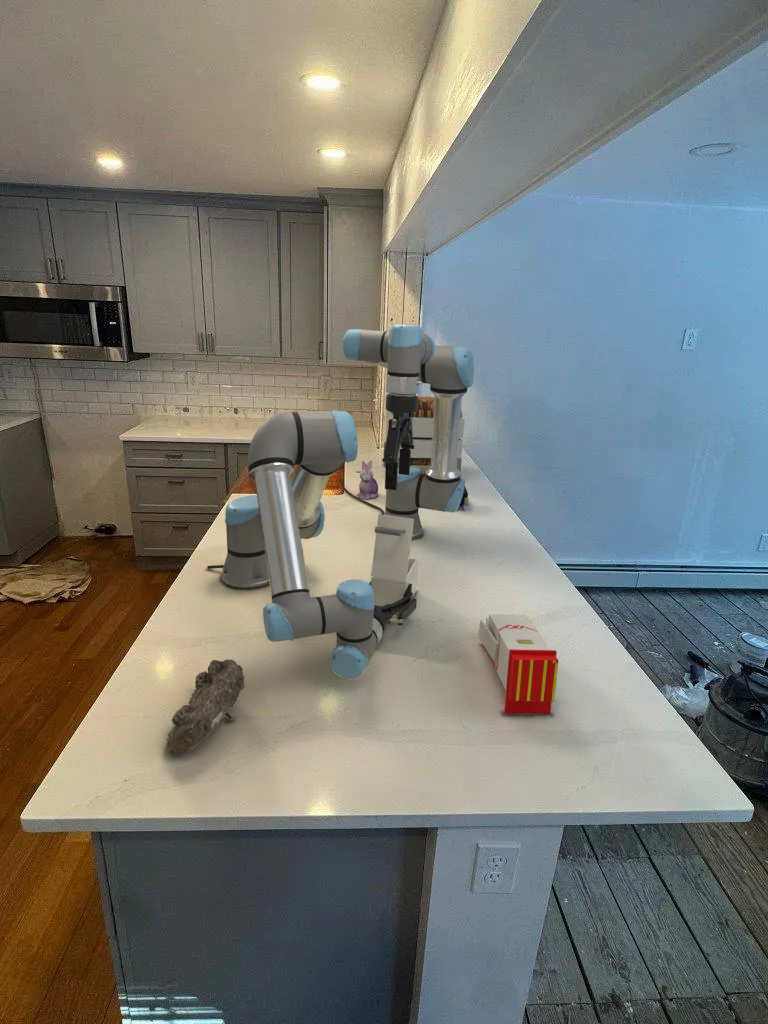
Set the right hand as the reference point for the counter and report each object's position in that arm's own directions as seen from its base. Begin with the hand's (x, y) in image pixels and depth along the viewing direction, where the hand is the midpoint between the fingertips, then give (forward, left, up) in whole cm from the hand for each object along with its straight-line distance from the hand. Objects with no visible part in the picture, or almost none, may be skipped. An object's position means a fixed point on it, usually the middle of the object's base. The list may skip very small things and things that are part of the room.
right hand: (397, 481), depth 139 cm
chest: (-2, +3, -35) cm, 35 cm away
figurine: (-76, +54, -35) cm, 99 cm away
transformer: (-90, +97, -35) cm, 137 cm away
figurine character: (-46, +77, -35) cm, 96 cm away
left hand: (0, 0, -28) cm, 29 cm away
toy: (+38, +2, -35) cm, 52 cm away
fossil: (+12, -56, -35) cm, 67 cm away
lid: (+1, -1, -17) cm, 17 cm away
